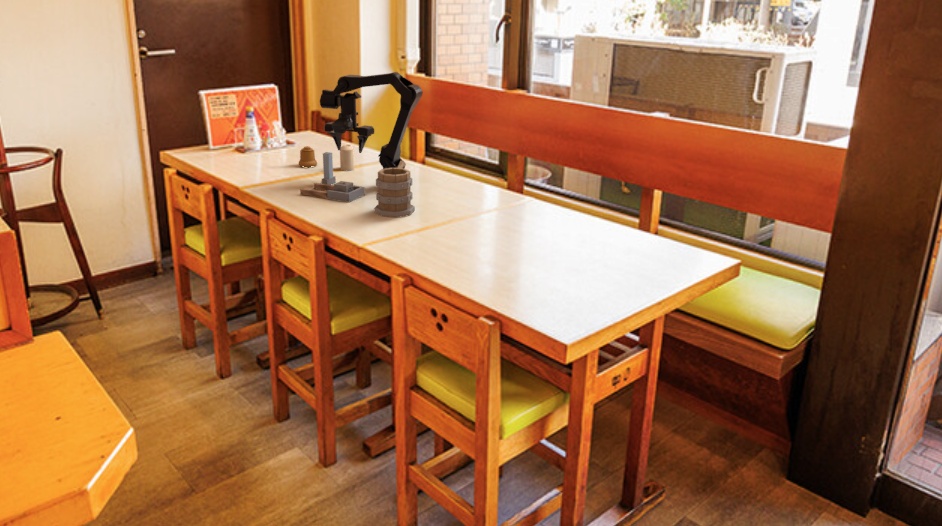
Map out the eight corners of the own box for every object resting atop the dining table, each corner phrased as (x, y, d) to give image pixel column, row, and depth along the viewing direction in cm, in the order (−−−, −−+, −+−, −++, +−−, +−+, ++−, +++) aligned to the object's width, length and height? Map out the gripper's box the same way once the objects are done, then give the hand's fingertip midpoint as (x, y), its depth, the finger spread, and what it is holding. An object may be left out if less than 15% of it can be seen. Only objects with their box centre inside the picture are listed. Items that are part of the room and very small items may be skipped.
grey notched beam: (335, 182, 287) (334, 151, 282) (327, 186, 282) (326, 154, 278) (330, 182, 288) (328, 151, 283) (321, 185, 283) (320, 154, 278)
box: (364, 194, 272) (364, 186, 271) (349, 202, 263) (349, 193, 262) (343, 191, 275) (342, 183, 274) (327, 198, 266) (327, 190, 265)
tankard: (407, 218, 247) (407, 174, 242) (370, 215, 250) (369, 171, 244) (423, 202, 266) (423, 160, 260) (388, 199, 268) (388, 158, 263)
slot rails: (341, 191, 275) (341, 186, 275) (326, 198, 267) (326, 193, 266) (316, 187, 279) (316, 182, 279) (300, 194, 271) (300, 189, 270)
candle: (347, 171, 303) (346, 147, 300) (337, 169, 306) (336, 145, 303) (356, 169, 307) (356, 145, 304) (347, 166, 311) (346, 143, 307)
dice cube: (334, 197, 268) (333, 184, 266) (341, 194, 273) (341, 180, 271) (346, 199, 267) (346, 185, 265) (353, 196, 271) (353, 182, 269)
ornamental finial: (301, 168, 306) (297, 164, 312) (319, 167, 309) (314, 163, 315) (300, 149, 303) (295, 145, 309) (318, 148, 306) (313, 144, 312)
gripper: (314, 110, 274) (316, 153, 280) (359, 115, 268) (360, 158, 273) (331, 106, 284) (333, 147, 290) (374, 111, 277) (375, 152, 283)
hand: (349, 151), depth 284 cm, fingers open, 9 cm apart
